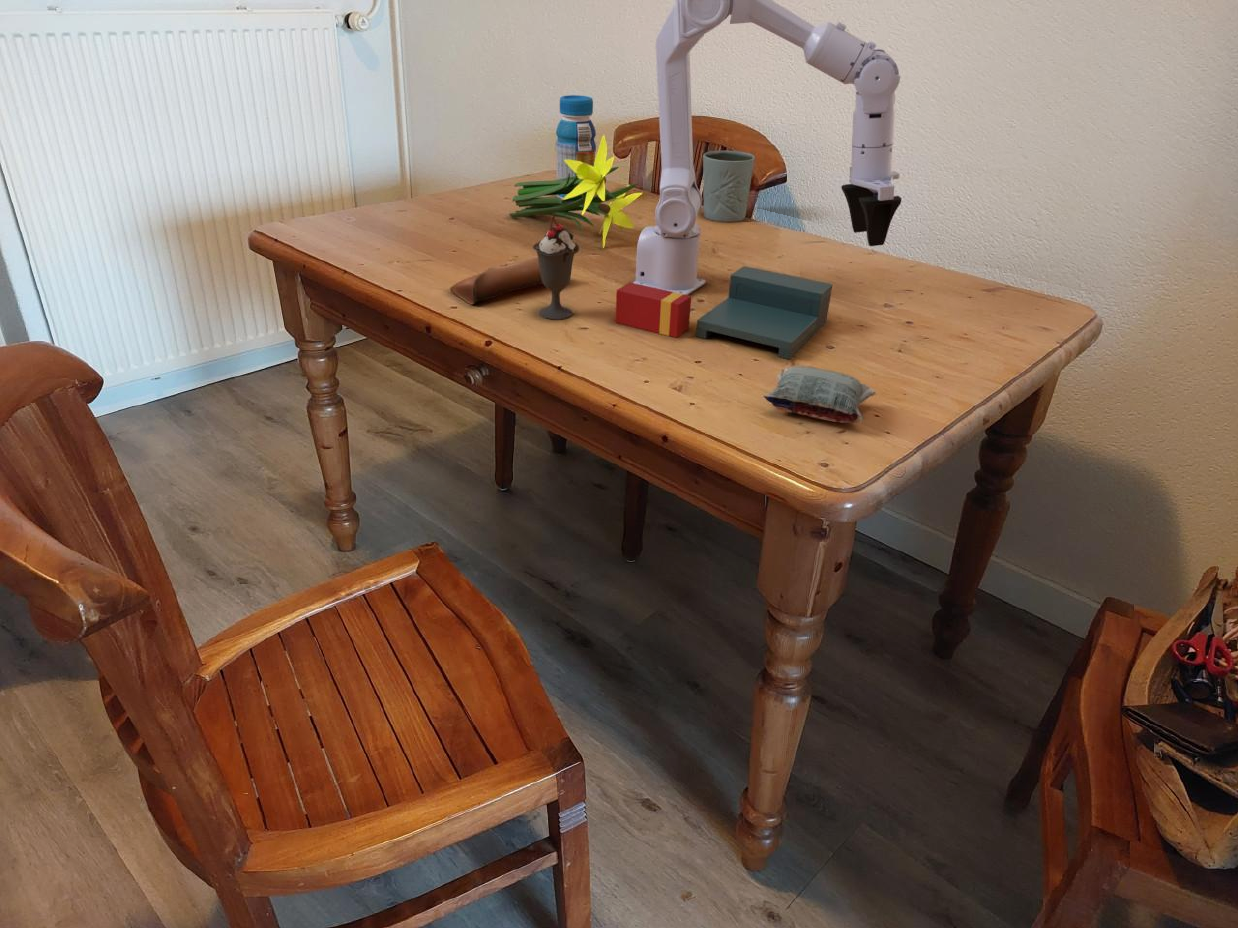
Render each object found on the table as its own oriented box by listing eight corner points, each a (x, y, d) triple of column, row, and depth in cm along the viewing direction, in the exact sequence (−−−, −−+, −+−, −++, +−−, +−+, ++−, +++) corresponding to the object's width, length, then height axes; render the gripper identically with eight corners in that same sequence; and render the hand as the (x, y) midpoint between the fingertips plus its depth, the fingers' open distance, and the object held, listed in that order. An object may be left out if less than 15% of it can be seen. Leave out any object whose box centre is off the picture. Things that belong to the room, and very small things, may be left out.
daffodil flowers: (566, 210, 181) (682, 201, 154) (523, 259, 176) (635, 258, 150) (518, 142, 171) (633, 119, 144) (471, 192, 166) (581, 178, 140)
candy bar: (615, 322, 127) (616, 289, 124) (628, 314, 130) (630, 282, 127) (676, 338, 123) (679, 304, 120) (689, 329, 126) (691, 295, 123)
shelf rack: (695, 336, 124) (699, 296, 121) (739, 303, 136) (743, 265, 133) (789, 359, 118) (795, 318, 115) (826, 322, 130) (832, 284, 127)
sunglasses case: (538, 266, 145) (550, 237, 140) (560, 297, 144) (574, 269, 138) (445, 288, 135) (455, 258, 130) (468, 322, 133) (479, 293, 128)
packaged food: (779, 385, 111) (784, 350, 108) (873, 406, 107) (881, 369, 104) (760, 414, 104) (765, 377, 101) (859, 438, 100) (867, 400, 97)
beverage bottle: (551, 201, 183) (551, 99, 173) (560, 191, 190) (560, 93, 180) (590, 204, 182) (592, 102, 172) (598, 194, 189) (600, 95, 179)
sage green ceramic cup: (750, 224, 174) (757, 162, 167) (699, 222, 174) (705, 159, 167) (745, 210, 182) (751, 151, 176) (696, 208, 182) (701, 149, 176)
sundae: (544, 325, 125) (543, 221, 117) (526, 309, 130) (524, 208, 123) (585, 318, 128) (587, 216, 120) (566, 303, 133) (567, 204, 125)
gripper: (918, 150, 119) (911, 248, 125) (883, 133, 131) (879, 223, 138) (867, 155, 119) (862, 253, 125) (837, 138, 131) (835, 228, 138)
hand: (868, 238), depth 132 cm, fingers open, 7 cm apart
